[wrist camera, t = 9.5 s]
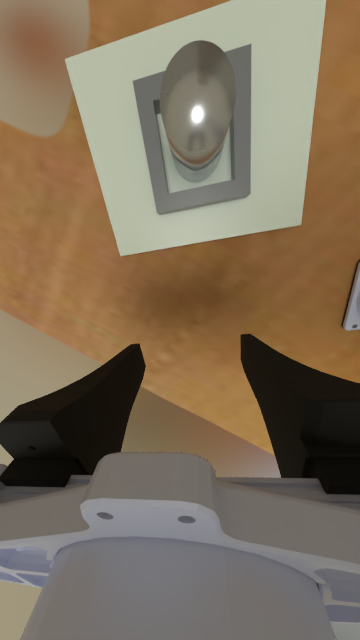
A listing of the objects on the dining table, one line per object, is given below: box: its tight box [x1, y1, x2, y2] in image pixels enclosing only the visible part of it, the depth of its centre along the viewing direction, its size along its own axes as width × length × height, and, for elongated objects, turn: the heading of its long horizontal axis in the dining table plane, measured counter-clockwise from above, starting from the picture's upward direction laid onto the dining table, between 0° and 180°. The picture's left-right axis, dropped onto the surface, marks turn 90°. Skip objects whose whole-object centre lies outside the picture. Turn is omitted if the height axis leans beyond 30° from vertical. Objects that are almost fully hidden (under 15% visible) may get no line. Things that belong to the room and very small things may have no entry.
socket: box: [65, 0, 326, 256], centre depth 14 cm, size 18×14×2 cm
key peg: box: [160, 40, 236, 183], centre depth 12 cm, size 4×4×6 cm
